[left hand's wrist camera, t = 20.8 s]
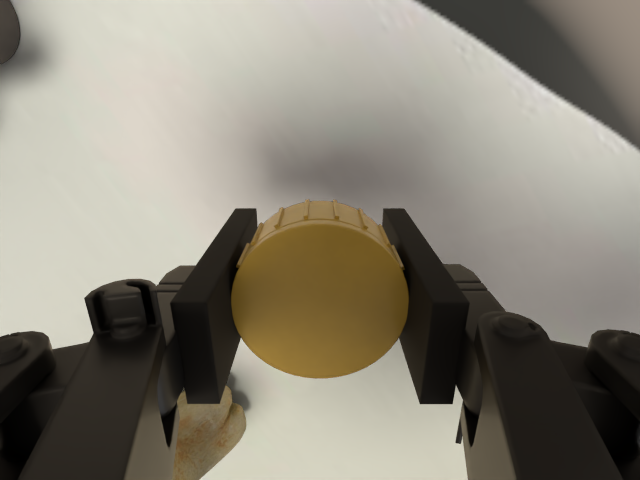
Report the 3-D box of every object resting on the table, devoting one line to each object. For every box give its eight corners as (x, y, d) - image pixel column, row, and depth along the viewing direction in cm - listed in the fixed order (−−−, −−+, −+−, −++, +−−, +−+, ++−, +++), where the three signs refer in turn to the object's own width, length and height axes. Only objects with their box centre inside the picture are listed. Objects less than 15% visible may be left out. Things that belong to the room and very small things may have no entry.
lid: (327, 162, 11) (328, 179, 9) (428, 277, 12) (449, 314, 10) (211, 266, 12) (189, 301, 10) (314, 359, 13) (313, 407, 11)
